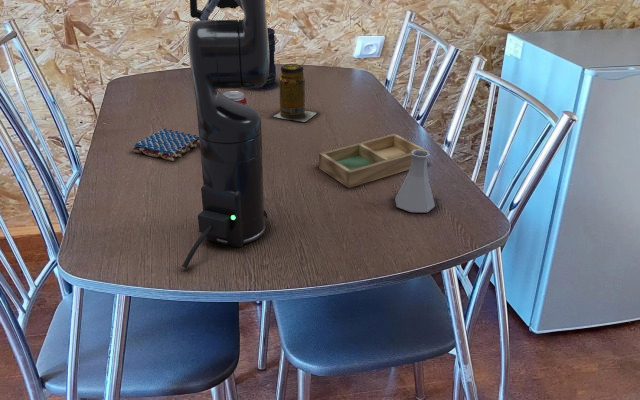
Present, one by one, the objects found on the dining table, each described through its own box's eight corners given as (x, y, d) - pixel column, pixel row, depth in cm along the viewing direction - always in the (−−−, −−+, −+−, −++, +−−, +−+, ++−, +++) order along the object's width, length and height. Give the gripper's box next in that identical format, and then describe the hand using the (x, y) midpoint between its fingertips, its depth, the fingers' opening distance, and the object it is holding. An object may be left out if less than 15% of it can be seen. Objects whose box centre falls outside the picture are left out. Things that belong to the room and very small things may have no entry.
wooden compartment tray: (425, 164, 115) (427, 149, 114) (348, 188, 106) (349, 172, 104) (393, 147, 122) (394, 133, 121) (318, 168, 113) (319, 153, 111)
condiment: (286, 108, 143) (285, 61, 137) (317, 113, 140) (317, 65, 134) (273, 117, 137) (271, 68, 131) (304, 123, 134) (304, 73, 128)
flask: (431, 217, 97) (438, 164, 92) (390, 209, 99) (394, 157, 94) (438, 198, 103) (444, 147, 98) (399, 191, 105) (403, 141, 100)
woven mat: (131, 153, 118) (129, 144, 117) (163, 135, 126) (162, 127, 125) (171, 162, 114) (170, 153, 113) (202, 144, 122) (201, 135, 121)
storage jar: (263, 77, 165) (261, 25, 158) (283, 85, 158) (282, 31, 151) (234, 83, 159) (231, 29, 152) (253, 92, 153) (251, 36, 146)
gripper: (182, -44, 99) (192, 45, 109) (264, -44, 100) (266, 44, 110) (185, -55, 105) (194, 31, 114) (262, -55, 106) (264, 30, 116)
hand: (229, 37), depth 112 cm, fingers open, 8 cm apart
